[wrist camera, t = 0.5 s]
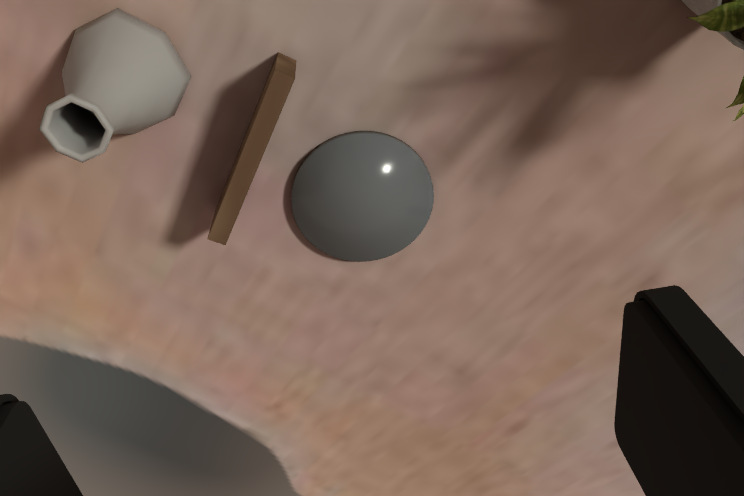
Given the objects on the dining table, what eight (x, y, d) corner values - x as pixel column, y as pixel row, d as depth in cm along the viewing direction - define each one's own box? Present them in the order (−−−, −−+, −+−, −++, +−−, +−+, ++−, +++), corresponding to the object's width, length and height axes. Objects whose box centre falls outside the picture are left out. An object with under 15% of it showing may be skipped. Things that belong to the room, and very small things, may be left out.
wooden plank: (215, 210, 43) (207, 238, 40) (278, 52, 38) (274, 70, 35) (232, 216, 44) (225, 245, 40) (296, 60, 39) (294, 78, 35)
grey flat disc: (270, 230, 45) (270, 234, 44) (326, 107, 40) (326, 110, 40) (393, 274, 48) (394, 278, 47) (457, 164, 43) (459, 167, 43)
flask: (139, 150, 41) (93, 223, 32) (41, 69, 38) (-38, 127, 29) (212, 75, 39) (185, 133, 30) (115, -17, 36) (53, 18, 27)
